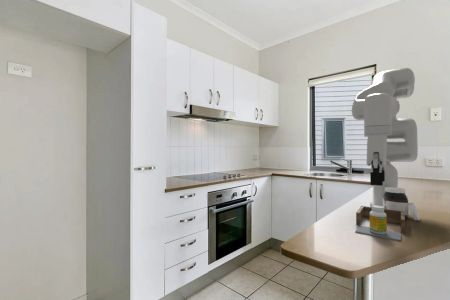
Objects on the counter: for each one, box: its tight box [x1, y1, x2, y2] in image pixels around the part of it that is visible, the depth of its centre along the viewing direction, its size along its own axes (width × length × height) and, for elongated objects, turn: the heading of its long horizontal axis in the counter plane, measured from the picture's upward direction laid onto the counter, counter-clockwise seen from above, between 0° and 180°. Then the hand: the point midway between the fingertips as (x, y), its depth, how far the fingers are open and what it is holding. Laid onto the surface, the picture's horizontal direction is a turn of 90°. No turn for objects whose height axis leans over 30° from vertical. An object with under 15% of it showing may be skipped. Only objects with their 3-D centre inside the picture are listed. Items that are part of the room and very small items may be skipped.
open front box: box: [355, 205, 406, 234], centre depth 83 cm, size 13×14×4 cm
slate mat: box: [355, 224, 402, 242], centre depth 74 cm, size 8×12×1 cm, turn 52°
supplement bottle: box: [369, 205, 388, 234], centre depth 74 cm, size 5×5×8 cm
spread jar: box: [383, 187, 420, 222], centre depth 92 cm, size 12×11×12 cm
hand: (377, 183), depth 74 cm, fingers open, 9 cm apart
